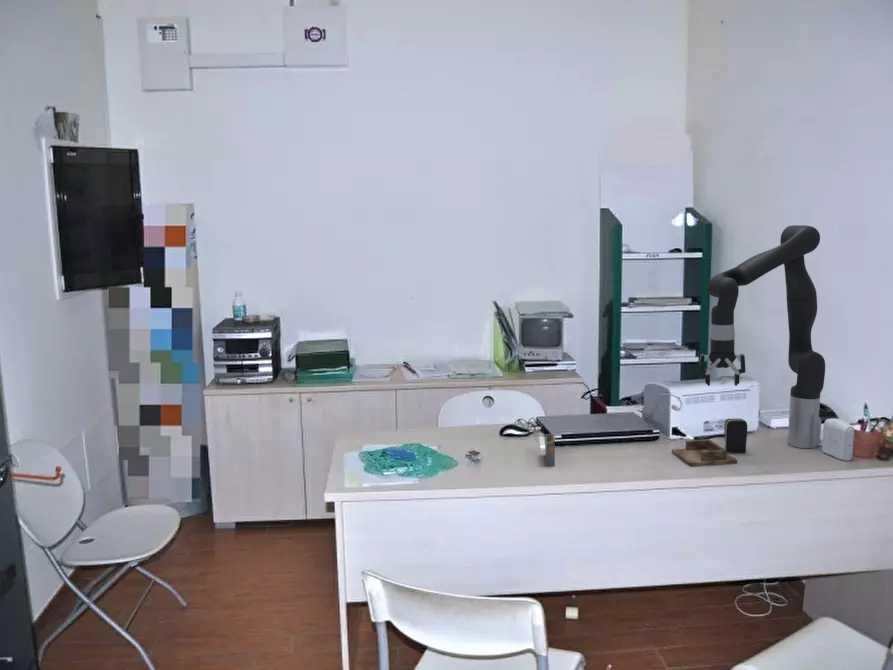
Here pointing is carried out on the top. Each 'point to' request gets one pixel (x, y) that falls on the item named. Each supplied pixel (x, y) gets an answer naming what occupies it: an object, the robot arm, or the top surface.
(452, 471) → the top surface
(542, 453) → the top surface
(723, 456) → the u rest
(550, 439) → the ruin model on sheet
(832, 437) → the photo printer
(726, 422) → the battery
